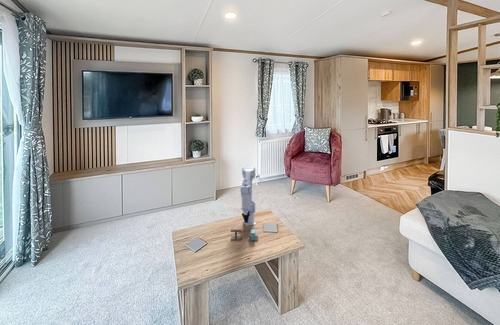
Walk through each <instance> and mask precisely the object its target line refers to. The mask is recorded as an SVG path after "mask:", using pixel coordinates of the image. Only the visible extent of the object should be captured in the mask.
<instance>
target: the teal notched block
mask: <svg viewBox="0 0 500 325" xmlns="http://www.w3.org/2000/svg"><path fill="white" fill-rule="evenodd" d="M250 236H251V240H255V236H256V229H254V228H253V229H252V228H251V229H250Z"/></svg>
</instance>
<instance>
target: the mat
mask: <svg viewBox="0 0 500 325" xmlns="http://www.w3.org/2000/svg"><path fill="white" fill-rule="evenodd" d="M248 242H259V235H255V240H251V235H249V236H248Z"/></svg>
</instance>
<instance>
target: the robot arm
mask: <svg viewBox="0 0 500 325" xmlns="http://www.w3.org/2000/svg"><path fill="white" fill-rule="evenodd" d="M241 173H242V178H243V180H242V185H241V186H240V196H241V207H240V210H241V211H242V213H241V216H242V218H243V220H242V222H243V223H244V225H245V227H247V226H255V225H256V222H255V215H254V214H255V213H256V202H255V201H254V200H253V180H254V179H255V178H256V167H254V166H253V167H242V171H241Z"/></svg>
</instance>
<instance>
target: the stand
mask: <svg viewBox="0 0 500 325" xmlns="http://www.w3.org/2000/svg"><path fill="white" fill-rule="evenodd" d="M230 233H234V234H233V235H231V236H230V241H242V235H241V234H240V235H239V234H238V233H242V229H239V228H235V229H234V228H231V229H230Z"/></svg>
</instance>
